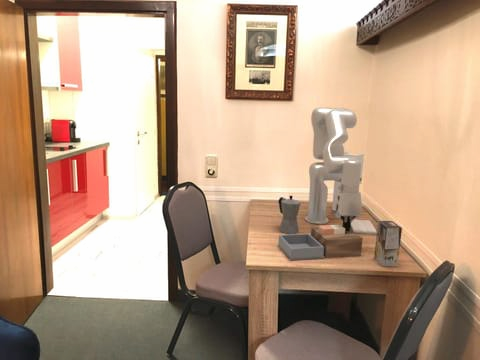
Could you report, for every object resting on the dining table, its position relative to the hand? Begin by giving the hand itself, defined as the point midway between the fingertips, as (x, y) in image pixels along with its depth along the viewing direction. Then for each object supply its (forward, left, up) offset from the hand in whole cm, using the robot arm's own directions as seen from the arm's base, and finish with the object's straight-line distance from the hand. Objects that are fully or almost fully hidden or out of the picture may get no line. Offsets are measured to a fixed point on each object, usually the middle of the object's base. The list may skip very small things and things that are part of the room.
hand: (346, 230), depth 166 cm
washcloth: (-25, +23, -10) cm, 35 cm away
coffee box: (+15, +11, -9) cm, 20 cm away
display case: (-50, +27, -9) cm, 57 cm away
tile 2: (0, -4, -1) cm, 4 cm away
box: (0, -20, -9) cm, 22 cm away
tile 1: (0, -9, -1) cm, 9 cm away
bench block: (0, -4, -9) cm, 10 cm away
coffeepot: (-27, -16, -9) cm, 33 cm away
